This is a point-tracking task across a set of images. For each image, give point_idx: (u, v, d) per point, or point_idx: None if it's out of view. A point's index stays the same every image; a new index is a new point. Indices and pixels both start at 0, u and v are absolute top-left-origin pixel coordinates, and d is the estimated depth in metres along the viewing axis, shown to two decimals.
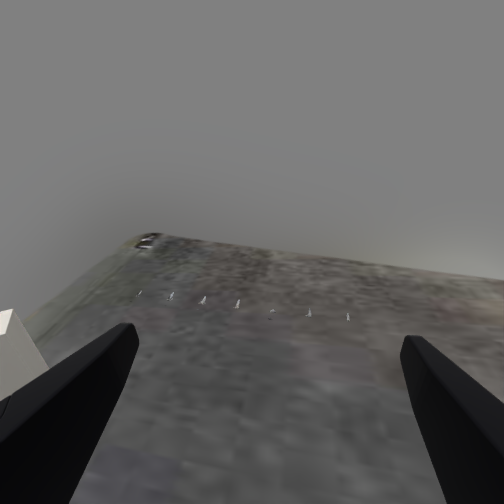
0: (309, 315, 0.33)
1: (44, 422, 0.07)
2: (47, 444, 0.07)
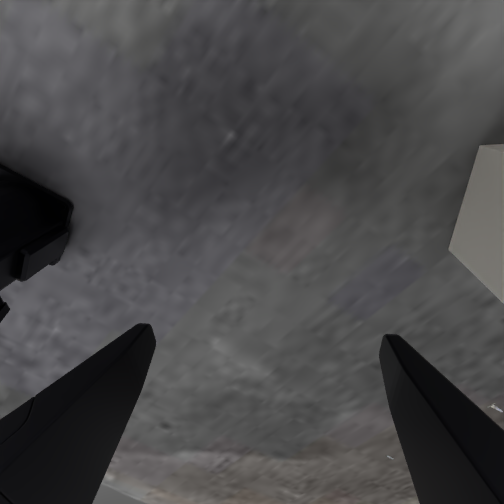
0: None
1: (69, 424, 0.07)
2: (72, 447, 0.07)
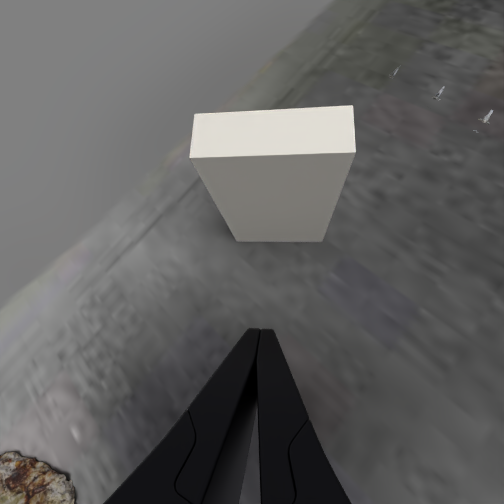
0: None
1: (231, 440, 0.06)
2: (231, 464, 0.06)
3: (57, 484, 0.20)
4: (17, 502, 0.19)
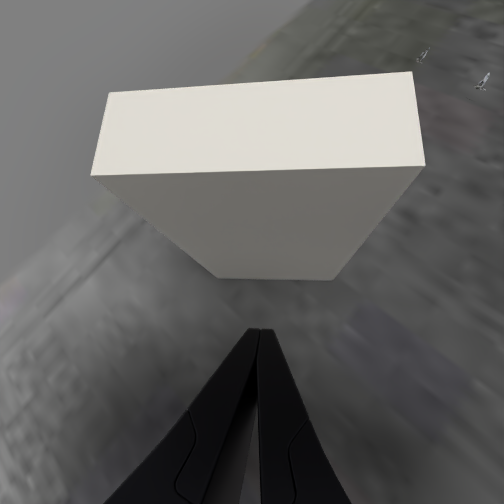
0: None
1: (231, 440, 0.06)
2: (231, 463, 0.06)
3: None
4: None
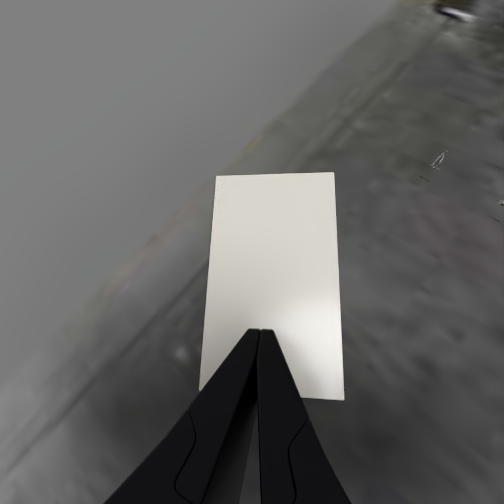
0: None
1: (231, 440, 0.06)
2: (231, 463, 0.06)
3: None
4: None
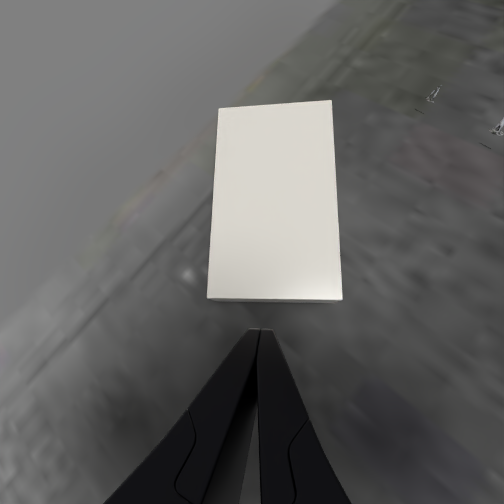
0: None
1: (231, 440, 0.06)
2: (231, 463, 0.06)
3: None
4: None
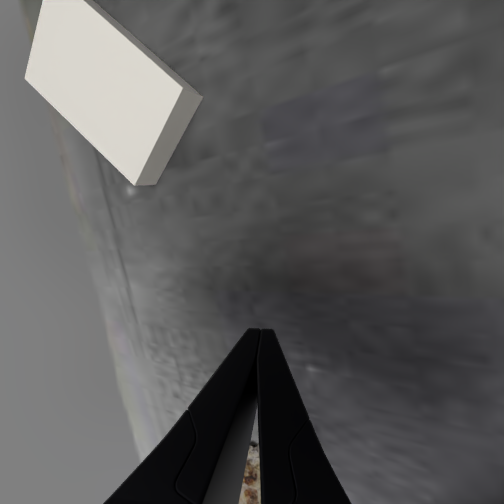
0: None
1: (231, 440, 0.06)
2: (231, 464, 0.06)
3: (250, 453, 0.23)
4: None
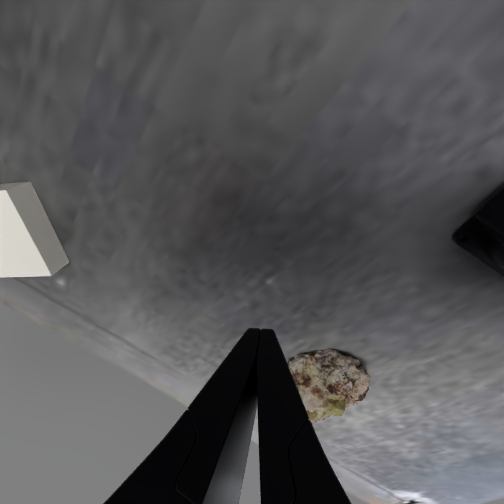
0: None
1: (231, 440, 0.06)
2: (231, 464, 0.06)
3: (293, 366, 0.26)
4: (301, 389, 0.26)
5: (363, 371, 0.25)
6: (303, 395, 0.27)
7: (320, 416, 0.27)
